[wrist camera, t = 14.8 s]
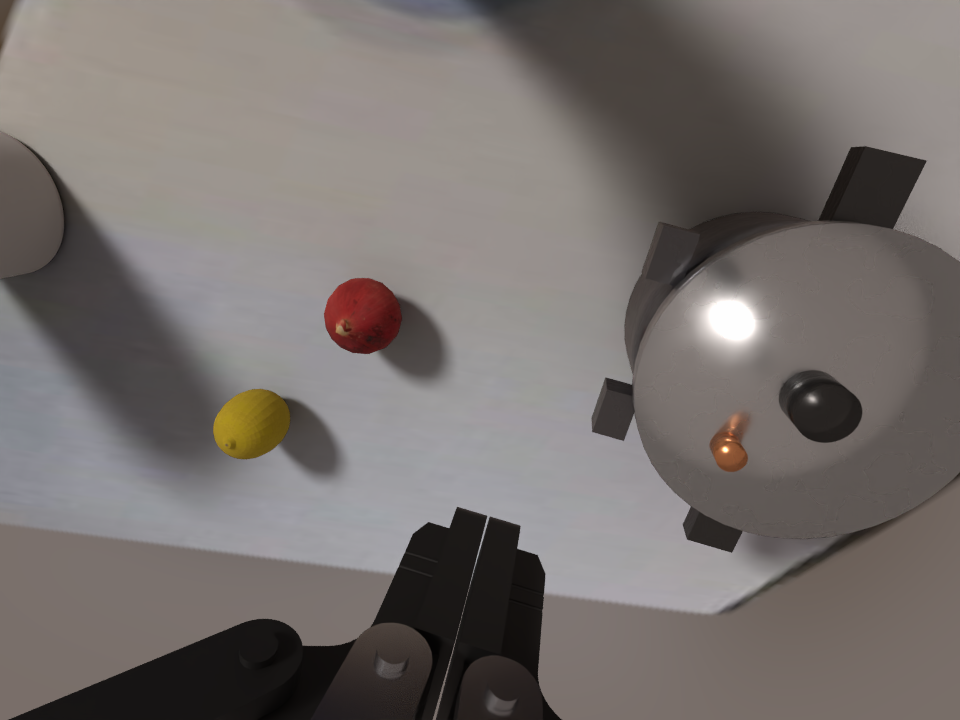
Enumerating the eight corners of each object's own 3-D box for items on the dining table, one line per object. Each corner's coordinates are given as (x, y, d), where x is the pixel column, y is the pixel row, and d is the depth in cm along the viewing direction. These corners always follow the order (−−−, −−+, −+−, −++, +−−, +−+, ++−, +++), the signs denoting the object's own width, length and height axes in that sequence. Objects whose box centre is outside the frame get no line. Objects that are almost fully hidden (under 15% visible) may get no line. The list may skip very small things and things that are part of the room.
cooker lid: (697, 181, 28) (715, 184, 25) (1063, 271, 27) (1139, 288, 23) (593, 474, 35) (595, 510, 31) (883, 558, 33) (921, 607, 30)
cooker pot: (669, 122, 38) (706, 105, 27) (938, 187, 37) (1094, 196, 26) (568, 431, 47) (565, 513, 36) (781, 492, 46) (847, 597, 35)
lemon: (242, 414, 52) (187, 455, 45) (258, 366, 50) (203, 401, 43) (294, 441, 52) (248, 486, 45) (313, 393, 50) (267, 433, 43)
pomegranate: (426, 304, 46) (397, 331, 38) (384, 351, 48) (349, 385, 40) (373, 256, 45) (333, 274, 38) (333, 305, 47) (287, 331, 40)
